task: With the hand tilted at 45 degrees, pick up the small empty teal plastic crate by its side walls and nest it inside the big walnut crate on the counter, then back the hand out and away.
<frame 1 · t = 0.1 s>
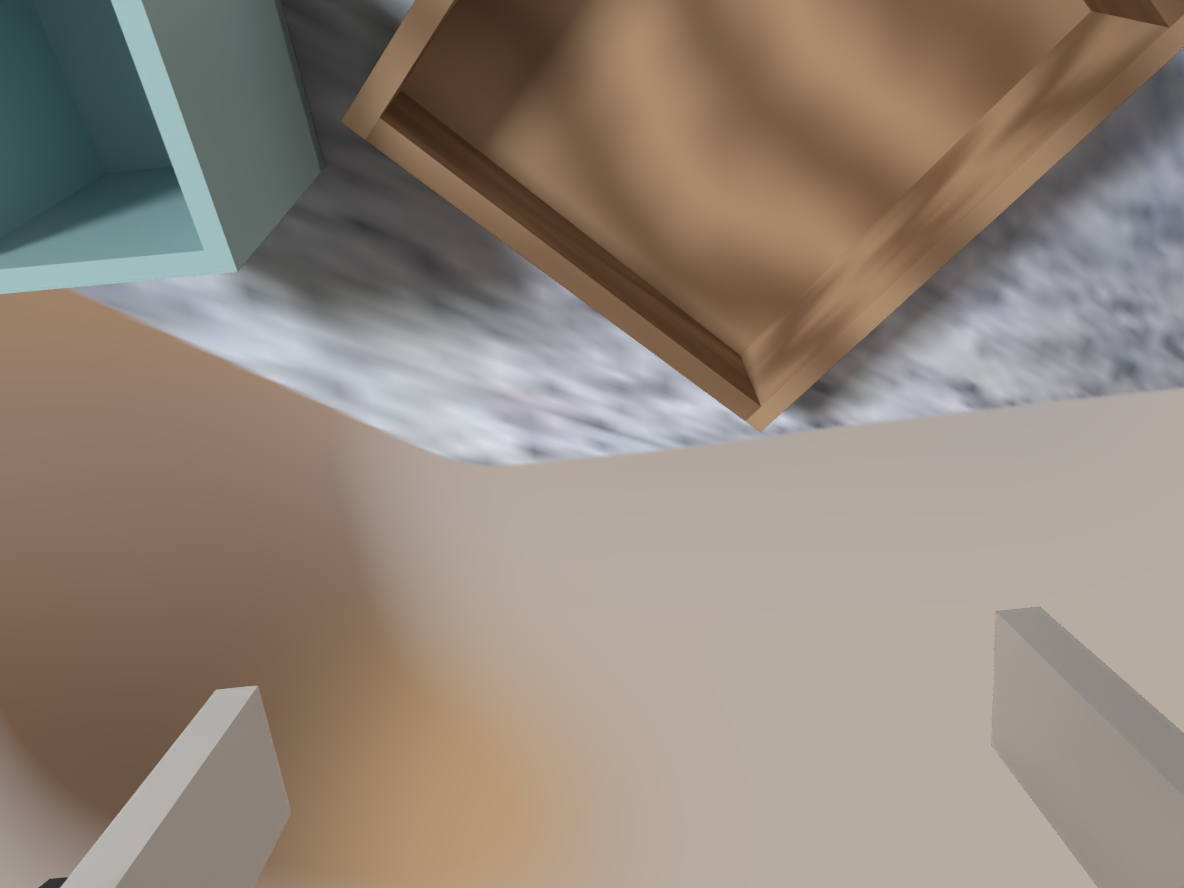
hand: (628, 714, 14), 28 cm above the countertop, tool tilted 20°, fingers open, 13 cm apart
small teal crate: (171, 54, 33), on the countertop
big walnut crate: (738, 46, 33), on the countertop
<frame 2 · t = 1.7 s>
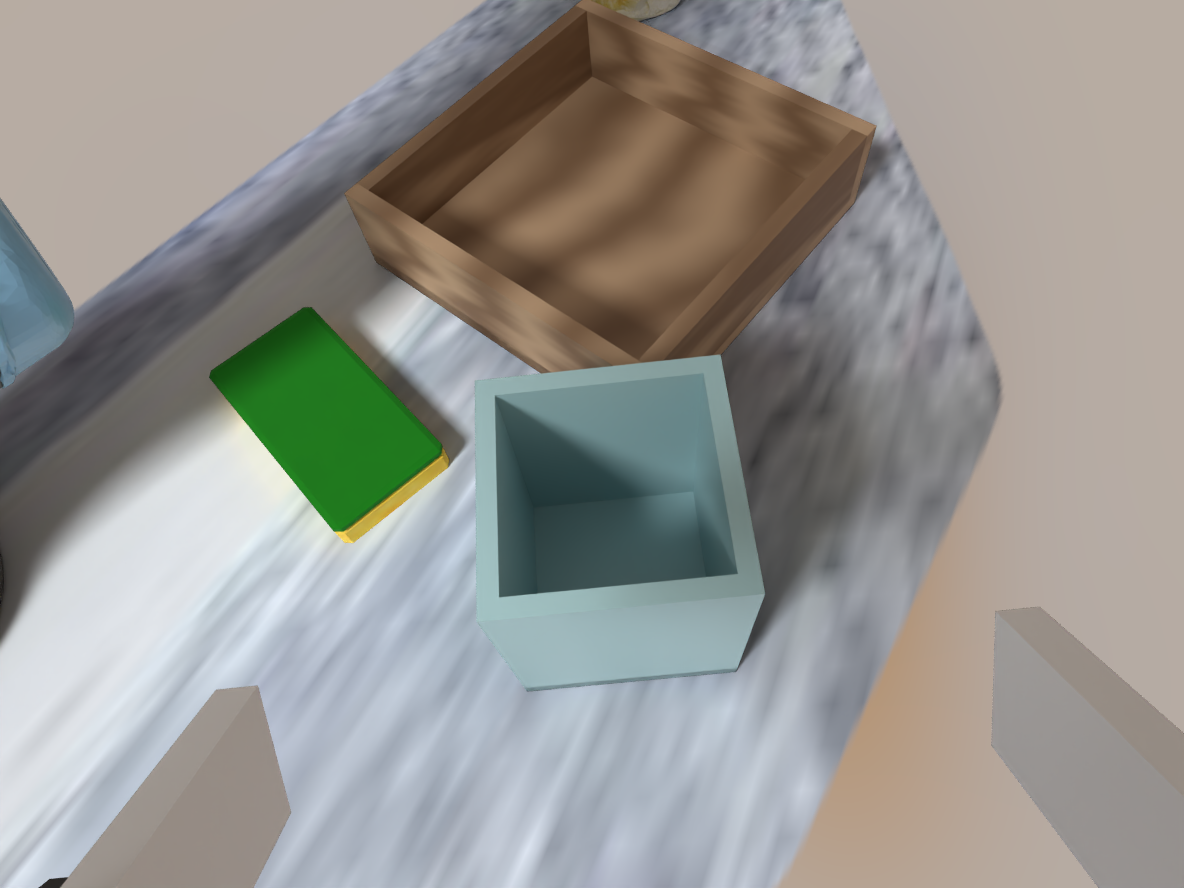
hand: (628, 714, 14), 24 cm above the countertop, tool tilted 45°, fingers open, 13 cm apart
dish sponge: (336, 431, 47), on the countertop
small teal crate: (621, 581, 40), on the countertop
big walnut crate: (613, 232, 52), on the countertop
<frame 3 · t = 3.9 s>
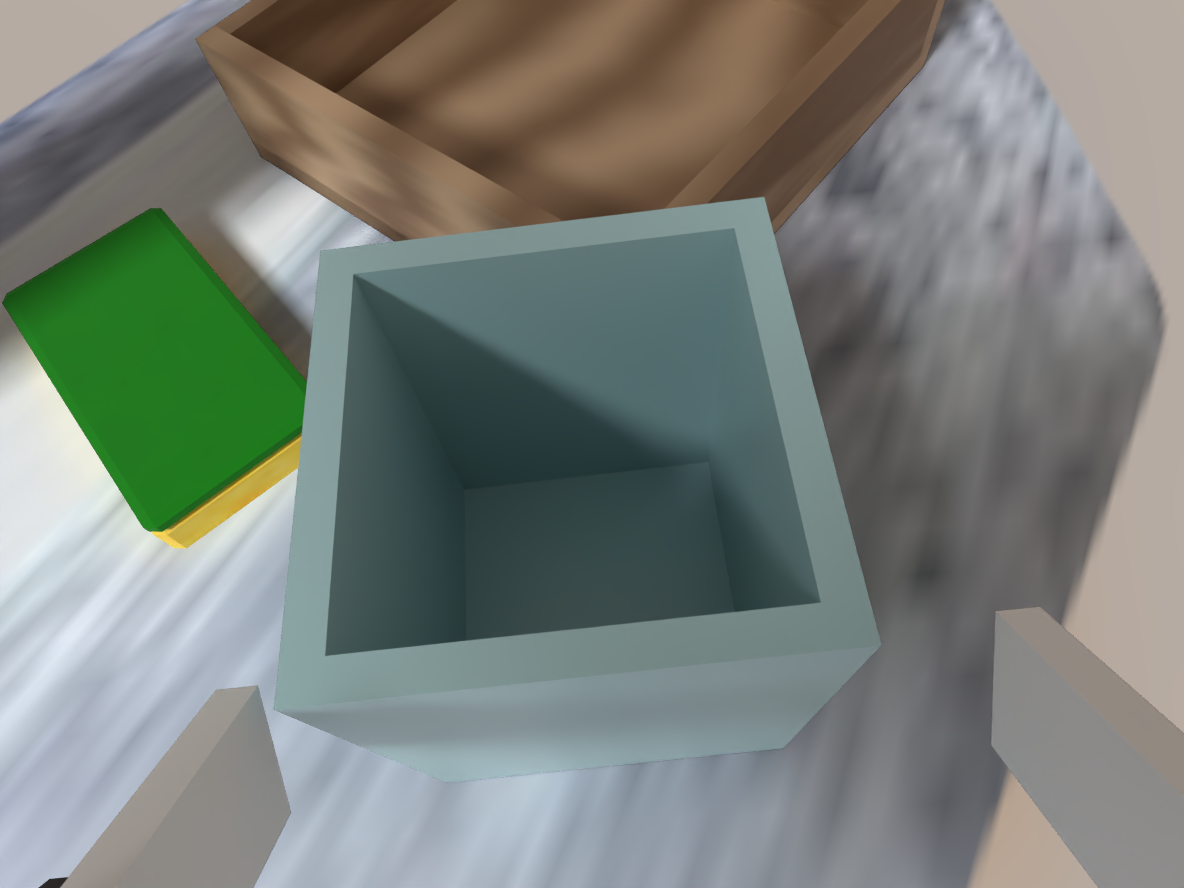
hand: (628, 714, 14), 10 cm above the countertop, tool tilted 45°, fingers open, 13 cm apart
dish sponge: (188, 384, 32), on the countertop
small teal crate: (598, 601, 26), on the countertop
big walnut crate: (589, 111, 37), on the countertop
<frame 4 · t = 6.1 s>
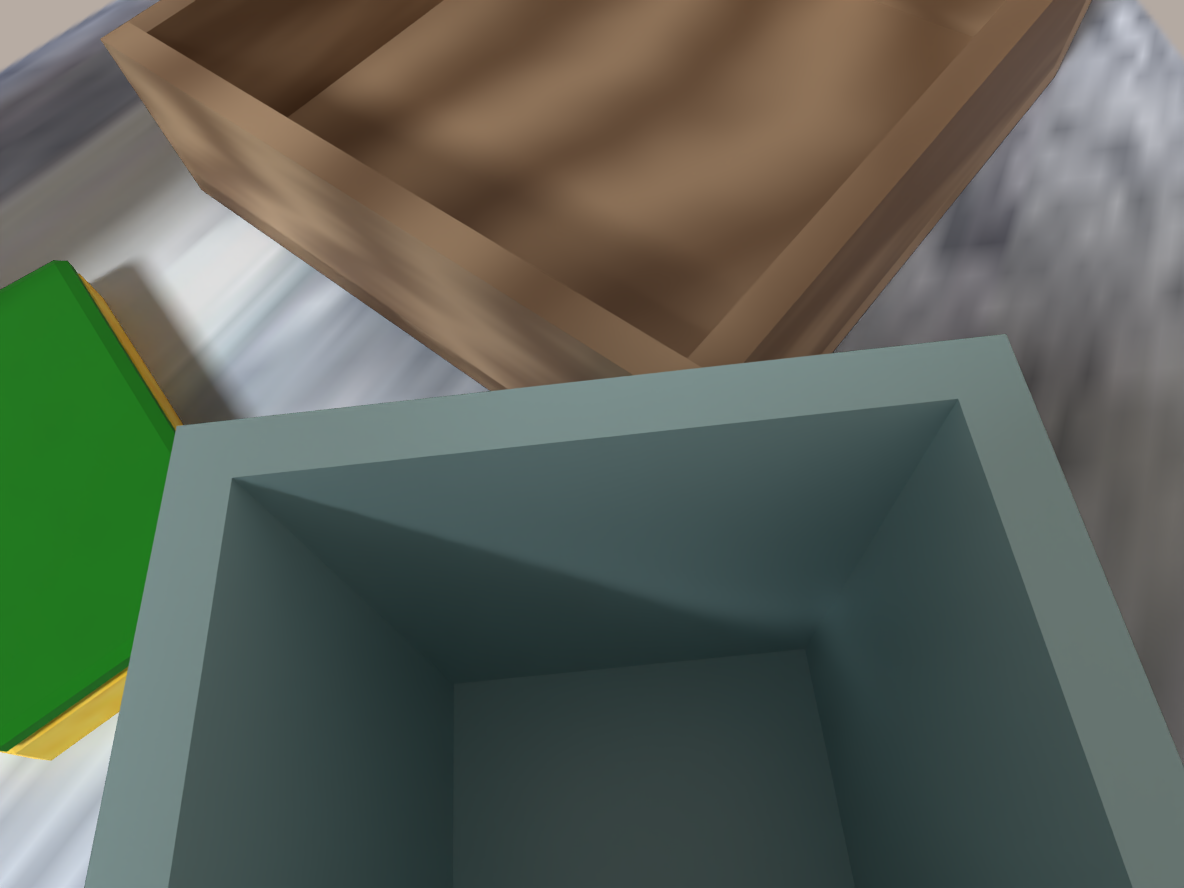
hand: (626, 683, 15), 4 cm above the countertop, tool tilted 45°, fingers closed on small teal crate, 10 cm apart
dish sponge: (87, 501, 24), on the countertop
small teal crate: (648, 866, 18), on the countertop, touching gripper
big walnut crate: (622, 133, 29), on the countertop
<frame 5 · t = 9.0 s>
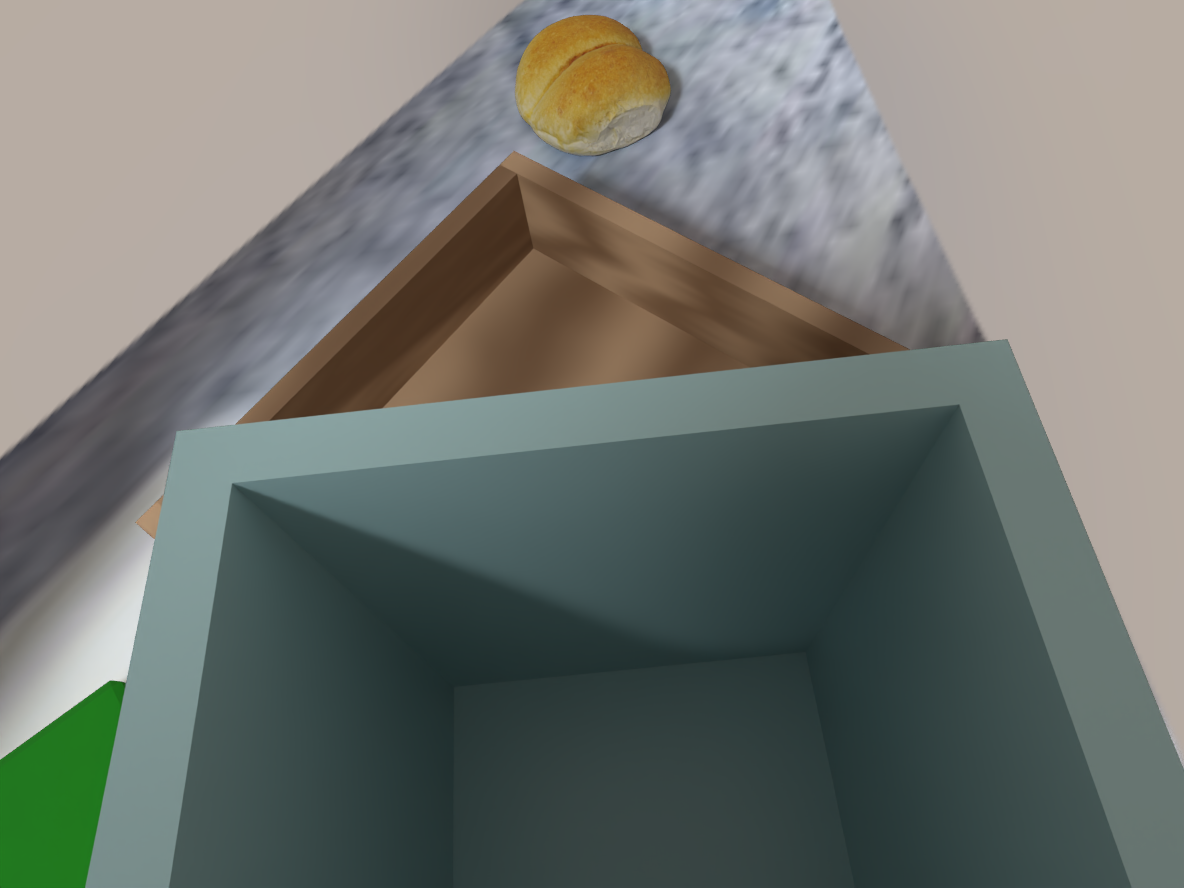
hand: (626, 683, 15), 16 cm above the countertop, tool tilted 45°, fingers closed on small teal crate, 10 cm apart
small teal crate: (649, 869, 18), point 12 cm above the countertop, touching gripper
bread roll: (594, 108, 46), on the countertop
big walnut crate: (571, 514, 34), on the countertop
when the fingers open (7 cm above the countertop, at t = 12.2 s): small teal crate drops 1 cm, resting on big walnut crate.
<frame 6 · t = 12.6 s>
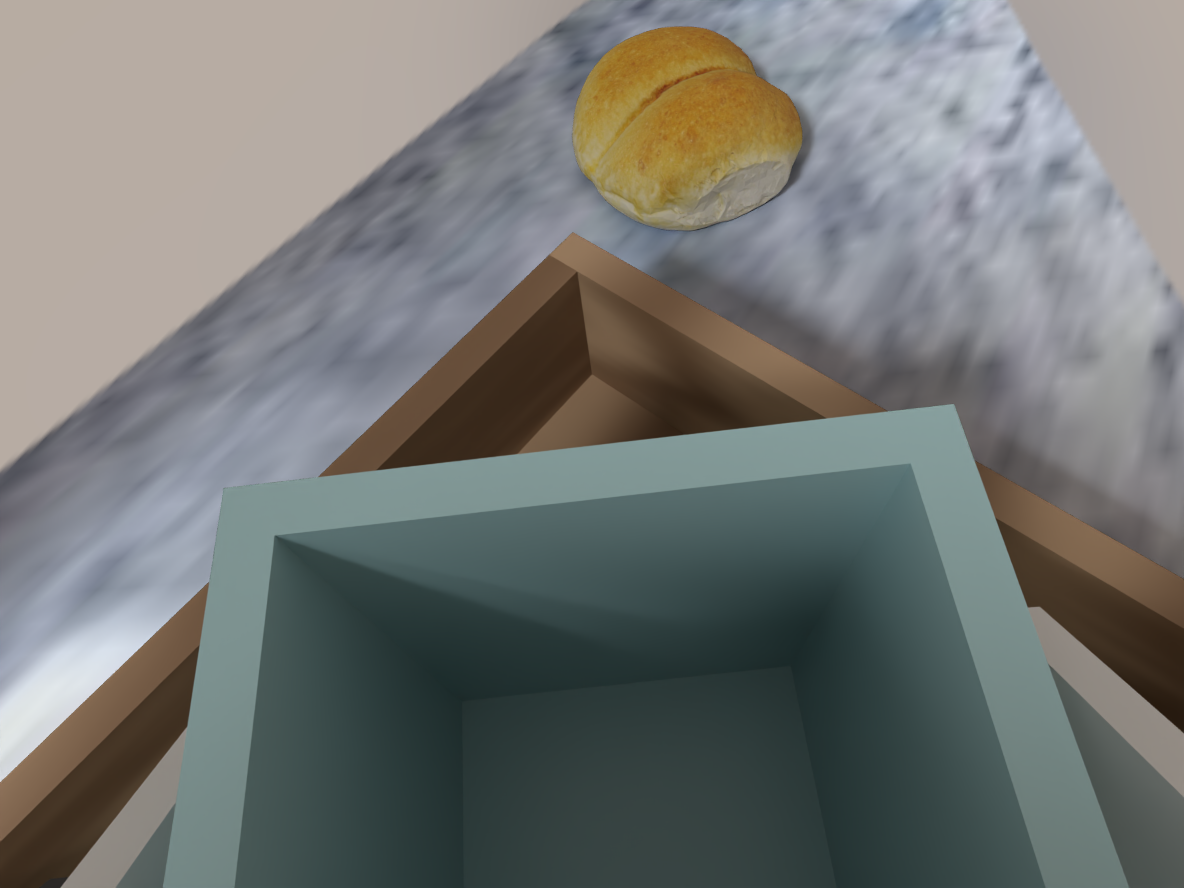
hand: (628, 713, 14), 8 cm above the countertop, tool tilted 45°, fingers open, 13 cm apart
small teal crate: (646, 870, 19), point 1 cm above the countertop, touching big walnut crate
bread roll: (684, 160, 32), on the countertop
big walnut crate: (650, 867, 20), on the countertop
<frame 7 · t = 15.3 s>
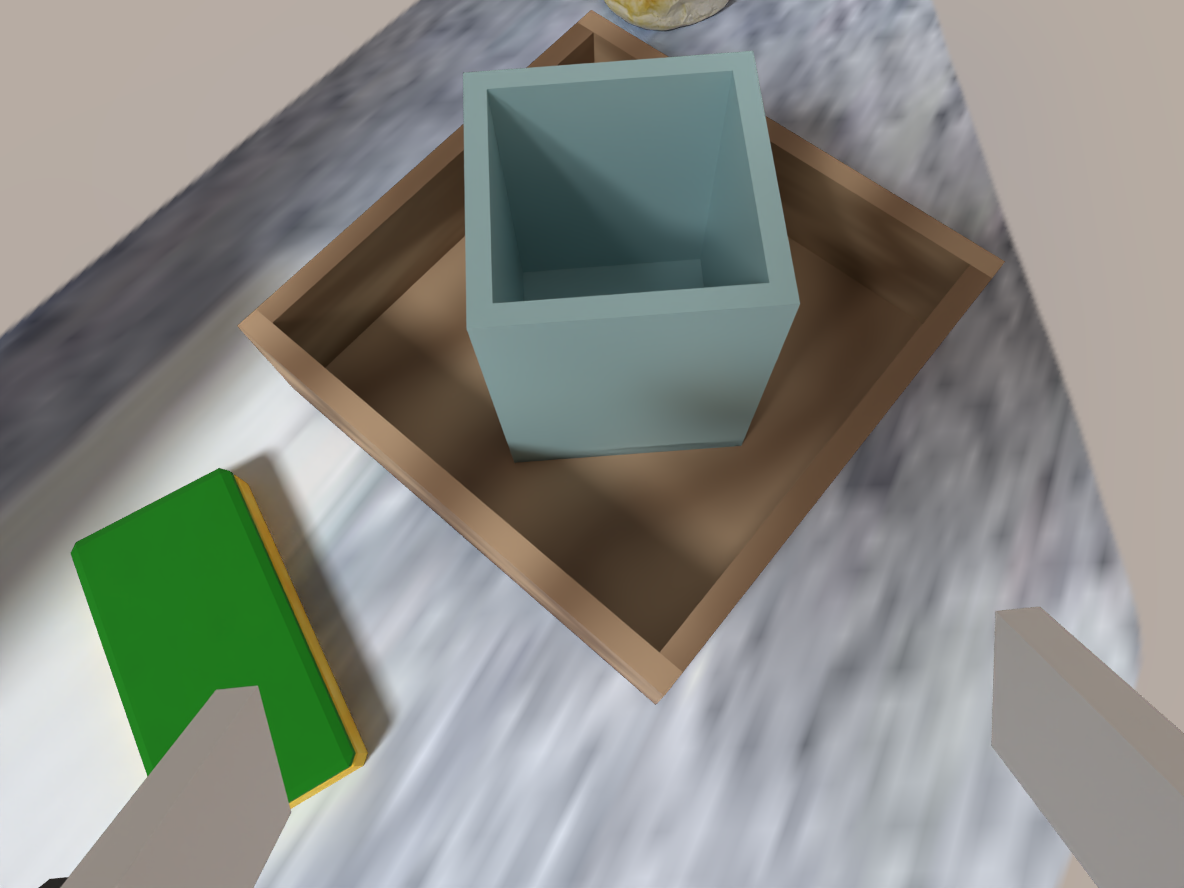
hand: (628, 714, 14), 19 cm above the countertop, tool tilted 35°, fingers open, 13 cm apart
dish sponge: (233, 655, 34), on the countertop
small teal crate: (618, 352, 37), point 1 cm above the countertop, touching big walnut crate
big walnut crate: (620, 361, 38), on the countertop
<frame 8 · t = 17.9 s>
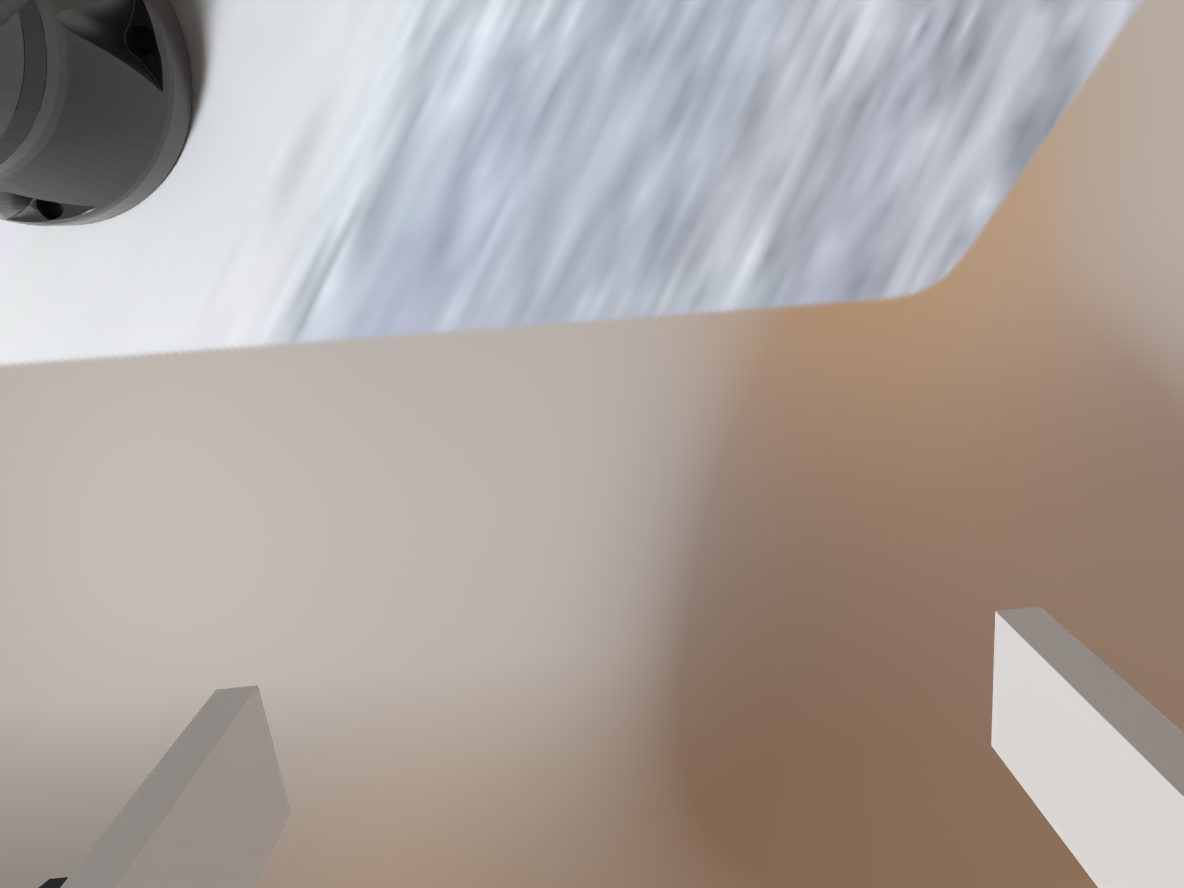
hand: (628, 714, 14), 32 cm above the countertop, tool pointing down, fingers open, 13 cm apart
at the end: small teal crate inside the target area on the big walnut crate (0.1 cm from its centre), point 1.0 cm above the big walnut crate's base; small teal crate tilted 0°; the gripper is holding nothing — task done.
